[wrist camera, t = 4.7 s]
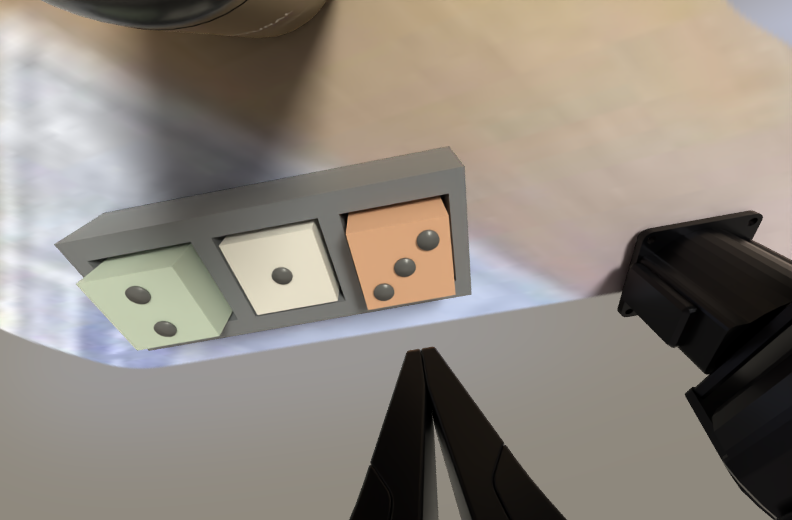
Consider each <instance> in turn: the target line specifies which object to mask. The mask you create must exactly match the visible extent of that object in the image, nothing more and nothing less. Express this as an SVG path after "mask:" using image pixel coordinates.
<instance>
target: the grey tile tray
mask: <svg viewBox="0 0 792 520" xmlns="http://www.w3.org/2000/svg"><path fill="white" fill-rule="evenodd" d="M438 195H439V196H440V198H441V200H442V202H443V204H444V207H445V209H446V211H447V213H448V215H449V226H450V237H451V249H452V260H453V271H454V282H455V293H456V295H452V296H446V297H441V298H435V299H429V300H423V301H418V302H412V303H406V304H400V305H395V306H389V307H383V308H378V309H372V310H368V308H367V304H366V301H365V298H364V294H363V291H362V287H361V284H360V281H359V277H358V274H357V271H356V267H355V264H354V260H353V257H352V254H351V250H350V247H349V244H348V240H347V237H346V228H347V221H348V213H349V212H353V211H358V210H363V209H369V208H374V207H379V206H385V205H390V204H395V203H401V202H406V201H411V200H417V199H422V198H427V197H433V196H438ZM315 218H318V221H319V224H320V227H321V230H322V233H323V235H324V238H325V241H326V244H327V247H328V250H329V253H330V256H331V259H332V262H333V265H334V268H335V271H336V274H337V276H338V279H339V282H340V287H339V295H338V301H334V302H328V303H323V304H317V305H311V306H306V307H300V308H294V309H289V310H283V311H277V312H272V313H266V314H260V315H257V313H256V311H255V310H254V308H253V306H252V304H251V303H250V301H249V299H248V297H247V295H246V294H245V292H244V290H243V288H242V286H241V285H240V283H239V281H238V279H237V278H236V276H235V274H234V272H233V270H232V269H231V267H230V265H229V263H228V261H227V260H226V258H225V256H224V254H223V253H222V251H221V249H220V247H219V245H220V244H221V242H222V241H223V240H224V238H225V237H226V236H227V235H230V234H235V233H241V232H246V231H251V230H257V229H262V228H267V227H273V226H278V225H283V224H289V223H294V222H299V221H305V220H310V219H315ZM187 242H191V244H192V245H193V247H194V248H195V250H196V252H197V253H198V255H199V257H200V258H201V260H202V262H203V263H204V265H205V266H206V268H207V270H208V271H209V273H210V275H211V276H212V278H213V279H214V281H215V283H216V284H217V286H218V288H219V289H220V291H221V293H222V294H223V296H224V297H225V299H226V301H227V302H228V304H229V306H230V307H231V309H232V310H233V311H232V313H231V315H230V317H229V319H228V321H227V323H226V325H225V327H224V329H223V330H222V332H221V334H220V336H217V337H212V338H206V339H200V340H194V341H189V342H183V343H177V344H172V345H166V346H160V347H154V348H149V349H148V350H149V351H150V350H156V349H161V348H167V347H173V346H179V345H184V344H190V343H196V342H202V341H207V340H213V339H219V338H225V337H230V336H236V335H242V334H247V333H253V332H259V331H265V330H270V329H276V328H282V327H288V326H293V325H299V324H305V323H311V322H316V321H322V320H328V319H333V318H339V317H345V316H351V315H356V314H362V313H368V312H374V311H379V310H385V309H391V308H397V307H402V306H408V305H414V304H419V303H425V302H431V301H437V300H442V299H448V298H454V297H460V296H465V295H471V277H470V258H469V240H468V221H467V203H466V184H465V166H464V165H463V164H462V162H461V161H460V160H459V159H458V157H457V156H456V155H455V153H454V152H453V151H452V150H451V148H450V147H449V146H448V147H443V148H438V149H433V150H428V151H423V152H417V153H412V154H407V155H402V156H397V157H391V158H386V159H381V160H376V161H371V162H366V163H360V164H355V165H350V166H345V167H340V168H334V169H329V170H324V171H319V172H314V173H309V174H303V175H298V176H293V177H288V178H283V179H277V180H272V181H267V182H262V183H257V184H252V185H246V186H241V187H236V188H231V189H226V190H220V191H215V192H210V193H205V194H200V195H195V196H189V197H184V198H179V199H174V200H169V201H163V202H158V203H153V204H148V205H143V206H138V207H132V208H127V209H122V210H117V211H112V212H106V213H103V214H102V215H100V216H98V217H97V218H95V219H94V220H92V221H90V222H89V223H87V224H86V225H84V226H83V227H81V228H79V229H78V230H76V231H75V232H73V233H71V234H70V235H68V236H67V237H65V238H64V239H62V240H60V241H59V242H57V243H56V244H54V245H55V246H56V247H57V248H58V249H59V250H60V252H61V253H62V254H63V255H64V256H65V257H66V258H67V259H68V261H69V262H70V263H71V264H72V265H73V266H74V267H75V268H76V270H77V271H78V272H79V273H80V274H81V275H82V276H83V277H85V276H86V275H88V274H89V273H90V272H91V271H93V270H94V269H95V268H96V267H98V266H99V265H100V264H101V263H102V262H104V261H105V260H106V259H107V258H109V257H112V256H118V255H123V254H128V253H134V252H139V251H144V250H150V249H155V248H160V247H166V246H171V245H176V244H182V243H187Z"/></svg>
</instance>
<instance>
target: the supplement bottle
mask: <svg viewBox="0 0 792 520" xmlns="http://www.w3.org/2000/svg"><path fill="white" fill-rule="evenodd" d="M42 1H44V2H46V3H48V4H50V5H52V6H54V7H57V8H60V9H62V10H65V11H68V12H70V13H73V14H76V15H79V16H82V17H86V18H89V19H93V20H97V21H100V22H104V23H109V24H115V25H120V26H125V27H131V28H137V29H146V30H158V31H171V32H184V33H196V34H209V35H222V36H235V37H248V38H267V37H275V36H280V35H283V34H287V33H289V32H291V31H294V30H296V29H298V28H299V27H301V26H303V25H304V24H305V23H307V22H308V21H309V20H311V19H312V18H313V17H314V16H315V15H316V14H317V13H318V12H319V10H320V9H321V8H322V7H323V5H324V4H325V2H326V1H327V0H42Z"/></svg>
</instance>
